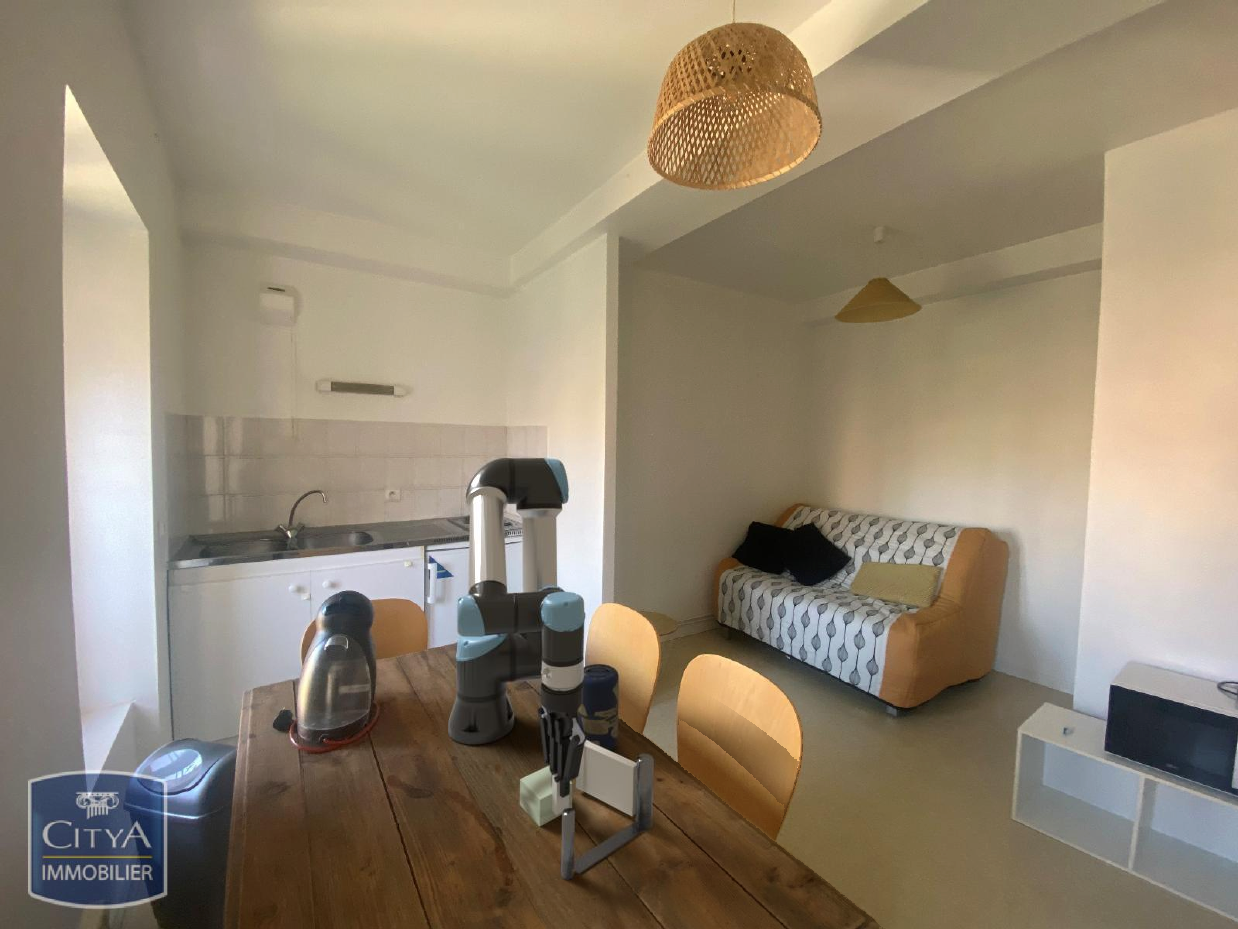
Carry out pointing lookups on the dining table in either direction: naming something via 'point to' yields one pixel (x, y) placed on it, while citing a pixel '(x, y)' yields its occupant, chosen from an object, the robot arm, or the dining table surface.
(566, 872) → the gate frame
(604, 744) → the canister
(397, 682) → the dining table surface
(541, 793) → the pale green block
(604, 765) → the gate
